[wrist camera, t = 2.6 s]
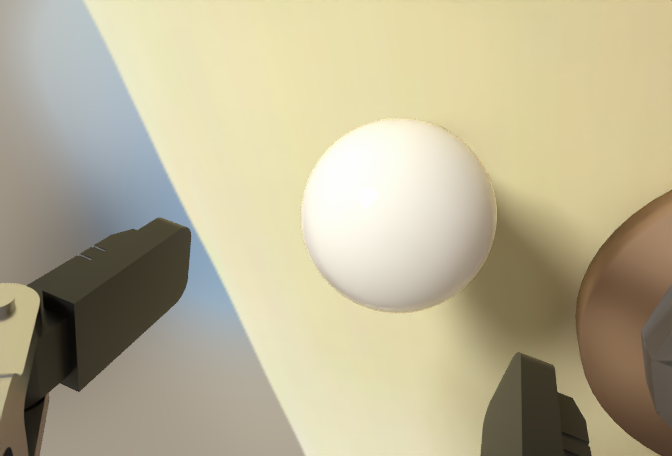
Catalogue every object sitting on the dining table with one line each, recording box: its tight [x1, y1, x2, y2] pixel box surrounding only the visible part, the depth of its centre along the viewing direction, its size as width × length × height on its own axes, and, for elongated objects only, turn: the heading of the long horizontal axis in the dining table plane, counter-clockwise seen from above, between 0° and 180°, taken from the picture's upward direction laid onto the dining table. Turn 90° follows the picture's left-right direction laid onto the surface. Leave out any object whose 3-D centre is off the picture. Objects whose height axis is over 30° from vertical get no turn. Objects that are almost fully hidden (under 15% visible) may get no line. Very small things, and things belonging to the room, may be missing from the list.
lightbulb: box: [301, 118, 497, 313], centre depth 19 cm, size 6×6×11 cm
